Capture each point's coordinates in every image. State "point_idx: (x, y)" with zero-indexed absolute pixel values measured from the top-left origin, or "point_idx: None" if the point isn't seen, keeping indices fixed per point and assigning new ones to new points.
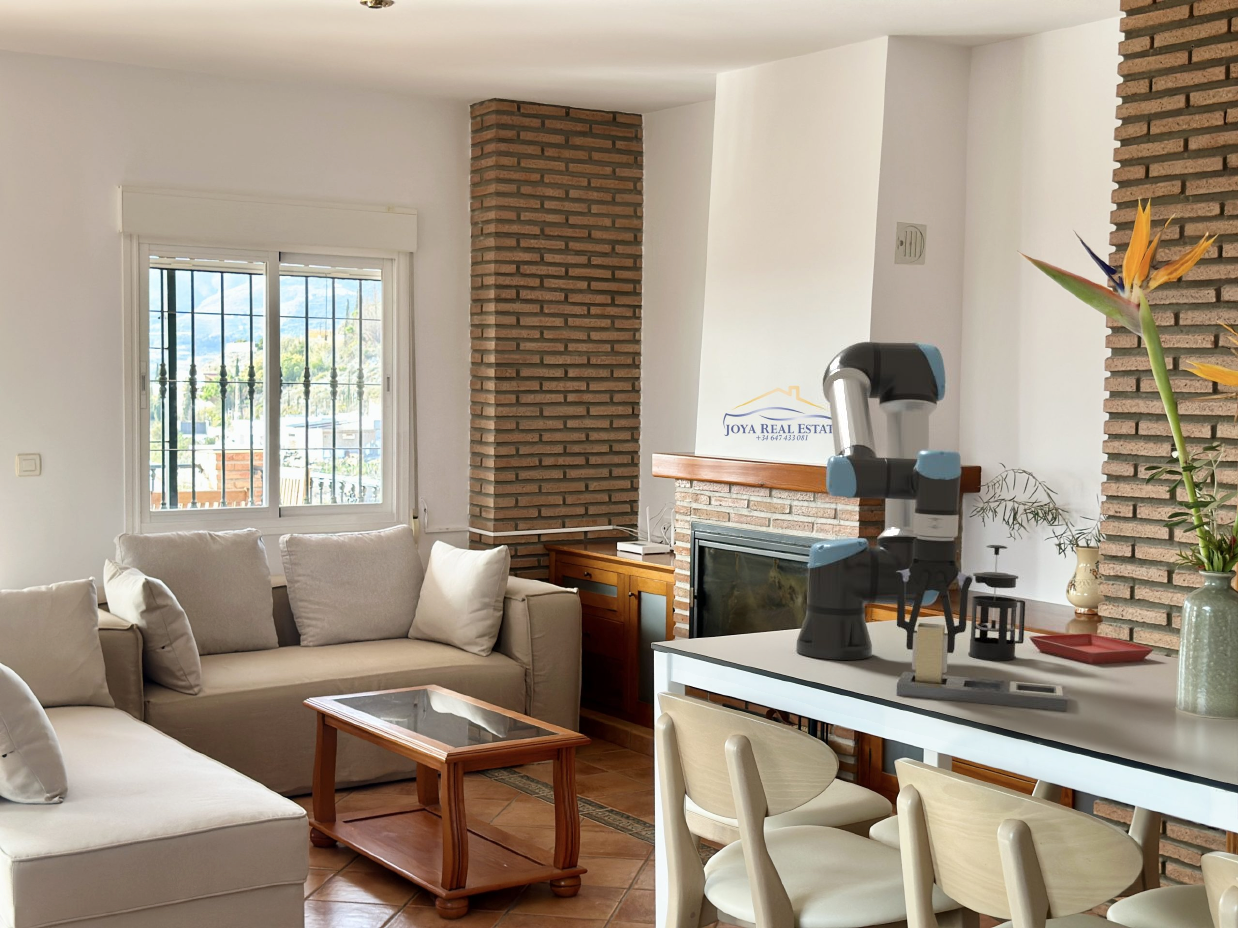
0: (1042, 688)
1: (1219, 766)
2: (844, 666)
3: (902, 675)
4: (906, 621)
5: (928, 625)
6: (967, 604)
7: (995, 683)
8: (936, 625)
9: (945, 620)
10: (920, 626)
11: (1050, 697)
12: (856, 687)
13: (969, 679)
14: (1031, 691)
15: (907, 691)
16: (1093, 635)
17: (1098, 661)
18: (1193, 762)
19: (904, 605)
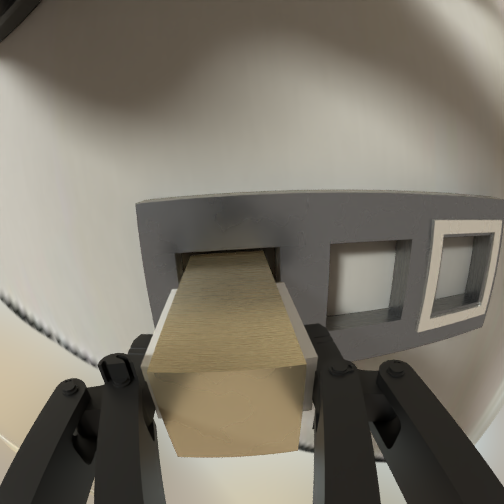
0: (475, 235)
1: (483, 430)
2: (9, 86)
3: (146, 268)
4: (98, 414)
5: (216, 423)
6: (473, 456)
7: (402, 238)
8: (258, 406)
9: (314, 462)
10: (189, 453)
11: (466, 329)
12: (76, 320)
13: (341, 223)
14: (451, 315)
15: None
16: None
17: None
18: (474, 434)
19: (78, 498)
